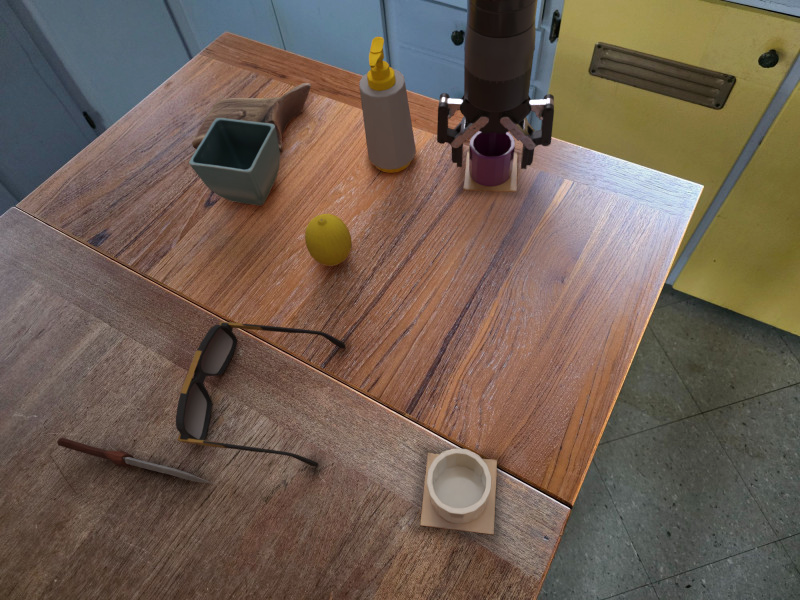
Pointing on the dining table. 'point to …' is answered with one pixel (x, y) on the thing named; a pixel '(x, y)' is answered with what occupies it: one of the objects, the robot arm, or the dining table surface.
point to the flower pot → (238, 160)
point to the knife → (126, 459)
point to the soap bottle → (386, 113)
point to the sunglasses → (213, 363)
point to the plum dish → (491, 158)
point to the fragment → (258, 111)
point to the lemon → (328, 239)
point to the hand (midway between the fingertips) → (491, 163)
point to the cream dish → (459, 485)
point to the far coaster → (505, 187)
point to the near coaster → (478, 525)
